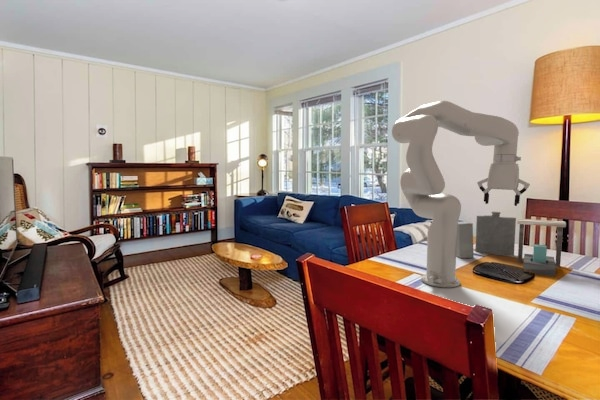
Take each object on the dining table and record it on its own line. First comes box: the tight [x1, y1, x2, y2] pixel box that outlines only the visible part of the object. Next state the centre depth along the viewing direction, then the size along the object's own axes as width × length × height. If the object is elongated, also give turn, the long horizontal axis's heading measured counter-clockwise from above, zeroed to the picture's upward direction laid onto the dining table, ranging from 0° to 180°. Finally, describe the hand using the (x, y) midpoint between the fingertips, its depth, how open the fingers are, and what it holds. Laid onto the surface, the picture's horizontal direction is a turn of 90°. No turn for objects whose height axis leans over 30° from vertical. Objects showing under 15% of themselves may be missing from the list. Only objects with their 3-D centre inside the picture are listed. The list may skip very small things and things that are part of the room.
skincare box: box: [456, 220, 475, 259], centre depth 155 cm, size 8×7×16 cm
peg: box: [532, 243, 548, 263], centre depth 133 cm, size 4×4×10 cm
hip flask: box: [474, 211, 517, 257], centre depth 159 cm, size 16×4×20 cm, turn 60°
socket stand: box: [516, 218, 567, 278], centre depth 135 cm, size 18×16×18 cm
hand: (500, 204), depth 130 cm, fingers open, 9 cm apart
